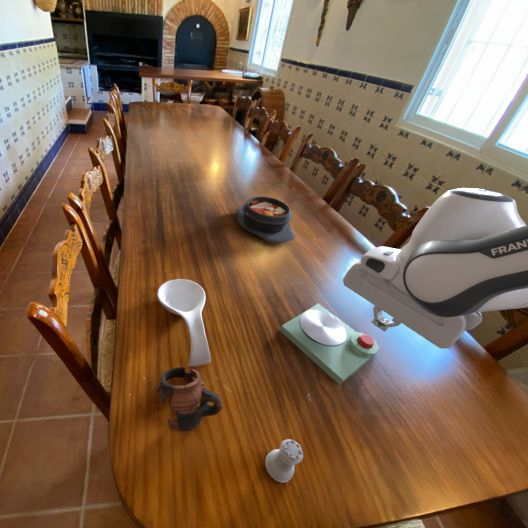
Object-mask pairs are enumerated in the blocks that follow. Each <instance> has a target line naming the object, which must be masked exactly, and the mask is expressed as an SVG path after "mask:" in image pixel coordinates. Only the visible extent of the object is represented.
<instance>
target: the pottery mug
mask: <svg viewBox="0 0 528 528" xmlns="http://www.w3.org/2000/svg"><path fill="white" fill-rule="evenodd" d="M174 378H177V379H178V378H179V379H184V381H185V383H186V384H184V385H183V384H182V385H173V384H170V383H168V382H167V381H169V380H172V379H174ZM194 378H195V379H194ZM159 380H160V382H159V384H158V385H157V388H156V393H159V401H160V403H162V404H165V403H166V400H167V399H169V397H171V396H172V397H171V401H170V404H169V405H170V409H171V410H172V411H173V412H175V416H176V419H173V418H170V417H168V419H167V426H168V429H170V430H171V431H174V432H181V433H185V432H186V433H187V432H190V431H193V430H195V429H197V428H198V427H199V426H200V424H201V421H202V420H203V418H205V417H212V416H216V415H218V414H219V413H220V412H221V411H222V409H223V407H224V404H223V400H222V397H221V396H220V395H219V394H218V393H217V392H215V391H211V390H208V389H207V388H206V387H204V382H203V380H202V379H201V373H200V372H199V371H198V370H197V369H194V368H190V370H189V371H186V367H184V366H178V367H173V368H170V369H168V370H166V371H164V372H163V373H162V374H161V376H160V379H159ZM209 403H212V405H211V404H209ZM198 404H199V405H198Z"/></svg>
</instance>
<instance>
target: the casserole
mask: <svg viewBox="0 0 528 528" xmlns="http://www.w3.org/2000/svg"><path fill="white" fill-rule="evenodd" d="M235 212H236V215H237V222H238V224H239V226H241V228H243V229H244V230H246V231H247V232H249V233H251V234H254V235H255V236H258V237H259V238H260V239H263V240H264V241H266V242H269V243H274V244H275V243H276V244H277V243H278V244H281V243H287V242H290V241H293V240H294V239H295V237H296V235H295V233H294V231H293V230H292V227H291V224H290V223H289V222H291V221H292V220H293V215H292V210H291V207H290V206H289V205H288V204H287V203H286V202H284V201H282V200H281V199H277V198H274V197H270V196H260V195H259V196H253V197H250V198H249V199H248V200H247V201H246V202H245V203H243V205H242V206H240V207H239V206H238V207H237V208H236V209H235Z"/></svg>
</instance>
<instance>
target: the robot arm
mask: <svg viewBox="0 0 528 528" xmlns="http://www.w3.org/2000/svg"><path fill="white" fill-rule="evenodd" d="M342 282H343V286H344V287H346V288H347V289H349V290H350V291H352V292H353V293H355V294H357V295H358V296H360V297H361V298H362V299H364V300H366V301H367V302H369V303H370V304H372V305H373V308H372V311H373V317H374V318H373V319H372V321H371V322H370V323H371V324H373V325H374V326H375V327H377V328H378V329H380V330H381V331H383V332H384V333H387V331H388V330H390V329H391V328H396V327H399V326H400V325H401V324H402V325H403V326H405V327H407V328H408V329H410V330H412V331H413V332H414V333H415V334H417V335H418V336H420V337H422V338H424V339H425V340H426V341H428V342H429V343H431V344H433V345H434V346H435V347H437V348H439V349H450V348H451V347H452V346H453V345H455V344H456V342H457V341H458V340H459V339H460V338H461V337H462V335H463V334H465V332H466V331H471V330H475V328H477V327H478V326H479V325H480V324H481V323H482V322H483V316H482V313H485V312H495V311H505V310H516V309H525V308H528V224H526V223H525V221H524V220H523V218H522V216H521V215H520V214H519V211H518V207H517V202H516V201H515V199H514V198H513V197H511V196H508V195H507V194H504V193H502V192H498V191H495V190H489V189H485V188H484V189H482V188H481V189H480V188H475V187H474V188H472V187H471V188H470V187H461V188H453V189H450V190H447V191H446V192H444V193H442V194H441V195H440V196H439V197H438V198H436V200H435V201H434V202H433V203H432V204H431V205H430V206H429V208H428V209H427V210H426V212H424V214H423V216H422V217H421V218H420V220H419V221H418V223H417V224H416V225H415V226H414V229H413V230H412V233H411V236H410V239H409V241H408V242H407V243H406V244H405V245H403V246H402V247H401V248H400V249H399V248H393V247H390V246H389V247H388V246H384V245H380V246H377V247H374V248H372V249H370V250H368V251H367V252H365V253H364V254H363V255H362V256H361V257H360V260H359V261H357V262H355V263H354V264H353V265H351V267H350V268H349V269H348V271H347V272H346V273H345V275H344V276H343V278H342ZM383 312H384V313H385V314H387V315H388V316H390V317H392V319H391V320H389V319H387V318H386V317H385V316H383Z"/></svg>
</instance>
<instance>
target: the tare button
mask: <svg viewBox="0 0 528 528" xmlns="http://www.w3.org/2000/svg"><path fill="white" fill-rule="evenodd" d="M372 338H373V337H372V336H370V335H369V336H368V334H366V335H362V336H361V337H360V338H359V339H358V343H359V345H360V346H362V347H363V348H366V349H368V348H370V347H371V346H372V345H373V343H374V341H373V339H374V338H373V339H372Z"/></svg>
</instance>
